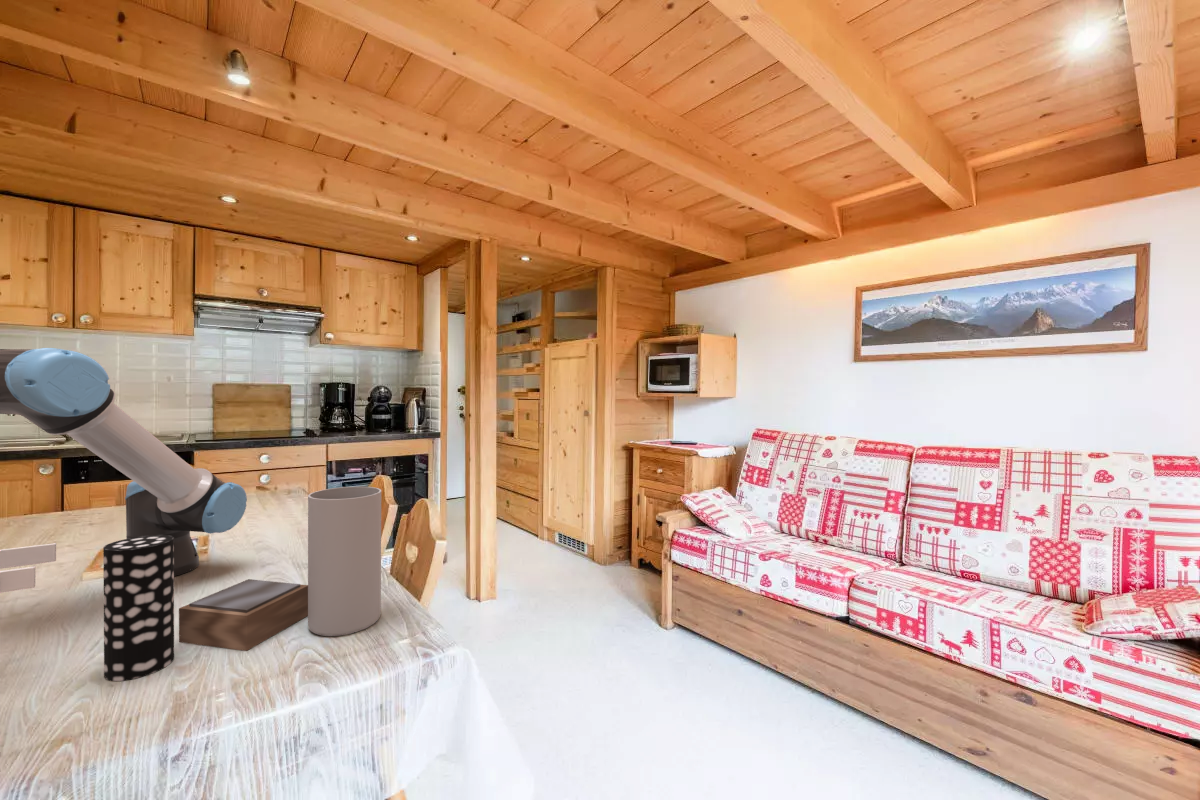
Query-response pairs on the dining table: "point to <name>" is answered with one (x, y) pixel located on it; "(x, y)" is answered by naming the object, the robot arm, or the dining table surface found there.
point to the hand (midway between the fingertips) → (46, 563)
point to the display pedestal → (243, 614)
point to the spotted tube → (138, 606)
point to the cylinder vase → (344, 560)
